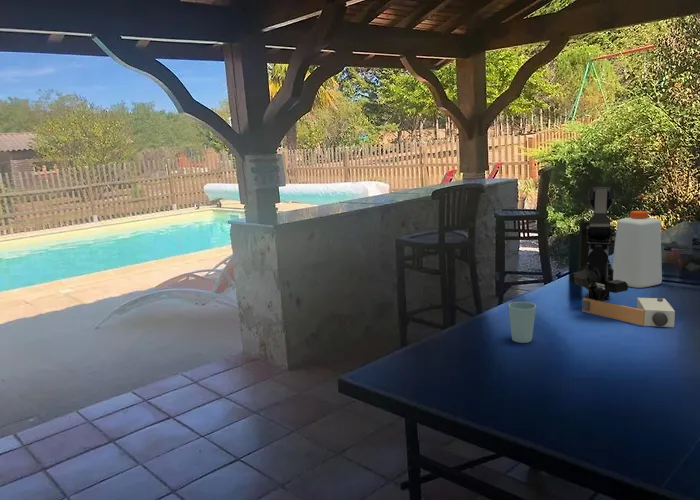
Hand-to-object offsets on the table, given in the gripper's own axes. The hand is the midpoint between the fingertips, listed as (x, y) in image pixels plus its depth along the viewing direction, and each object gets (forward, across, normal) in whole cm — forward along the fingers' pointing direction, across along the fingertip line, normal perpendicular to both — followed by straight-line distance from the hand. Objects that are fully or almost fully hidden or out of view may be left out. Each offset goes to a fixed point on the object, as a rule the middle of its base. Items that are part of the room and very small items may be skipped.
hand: (597, 307), depth 187 cm
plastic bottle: (+3, -20, +43) cm, 47 cm away
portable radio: (+3, -40, +39) cm, 56 cm away
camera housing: (+2, +14, +9) cm, 17 cm away
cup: (+2, +7, -37) cm, 38 cm away
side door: (+2, +7, -1) cm, 7 cm away
